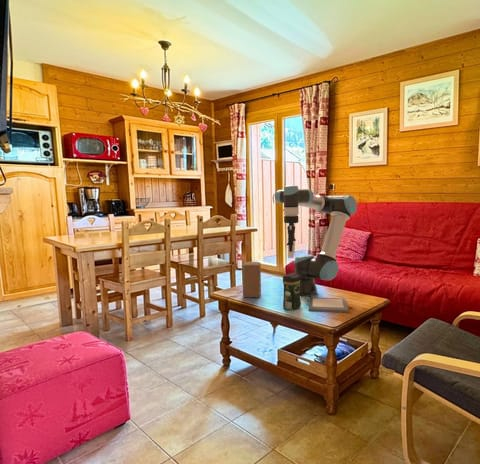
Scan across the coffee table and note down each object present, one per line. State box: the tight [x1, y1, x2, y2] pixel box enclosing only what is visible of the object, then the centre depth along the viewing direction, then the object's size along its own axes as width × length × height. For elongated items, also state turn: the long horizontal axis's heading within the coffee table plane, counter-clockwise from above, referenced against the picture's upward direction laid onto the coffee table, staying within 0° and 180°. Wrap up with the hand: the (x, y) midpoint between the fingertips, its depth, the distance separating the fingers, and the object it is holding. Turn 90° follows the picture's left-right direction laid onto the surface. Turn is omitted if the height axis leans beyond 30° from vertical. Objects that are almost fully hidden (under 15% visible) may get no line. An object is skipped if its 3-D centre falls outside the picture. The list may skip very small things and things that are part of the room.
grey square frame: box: [308, 296, 350, 313], centre depth 190 cm, size 20×20×2 cm
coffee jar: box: [282, 272, 302, 311], centre depth 187 cm, size 10×8×19 cm
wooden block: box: [241, 261, 262, 298], centre depth 211 cm, size 10×10×20 cm
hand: (291, 255), depth 185 cm, fingers open, 13 cm apart
